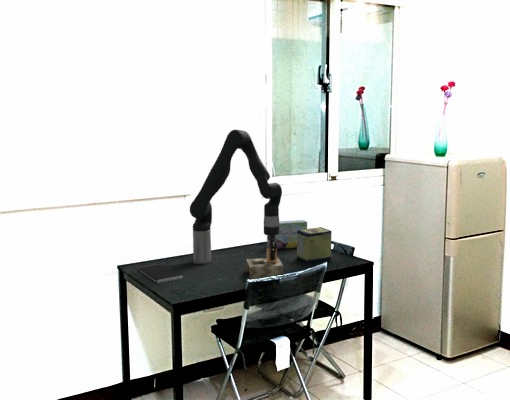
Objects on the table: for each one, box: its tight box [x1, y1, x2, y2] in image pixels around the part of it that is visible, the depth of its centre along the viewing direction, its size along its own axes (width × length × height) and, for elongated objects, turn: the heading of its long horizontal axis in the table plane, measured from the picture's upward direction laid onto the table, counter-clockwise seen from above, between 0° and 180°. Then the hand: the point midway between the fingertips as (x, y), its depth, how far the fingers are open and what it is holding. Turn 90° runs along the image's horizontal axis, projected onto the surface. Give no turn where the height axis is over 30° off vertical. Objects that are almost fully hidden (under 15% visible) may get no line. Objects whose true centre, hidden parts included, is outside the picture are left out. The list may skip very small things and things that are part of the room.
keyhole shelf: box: [245, 257, 284, 280], centre depth 285 cm, size 16×14×6 cm
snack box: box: [275, 219, 308, 250], centre depth 335 cm, size 21×6×15 cm, turn 105°
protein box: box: [296, 226, 333, 264], centre depth 310 cm, size 10×16×16 cm
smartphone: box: [137, 263, 184, 284], centre depth 288 cm, size 13×27×2 cm, turn 31°
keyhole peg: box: [265, 247, 278, 263], centre depth 284 cm, size 4×4×9 cm
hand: (271, 258), depth 284 cm, fingers closed on keyhole peg, 4 cm apart
